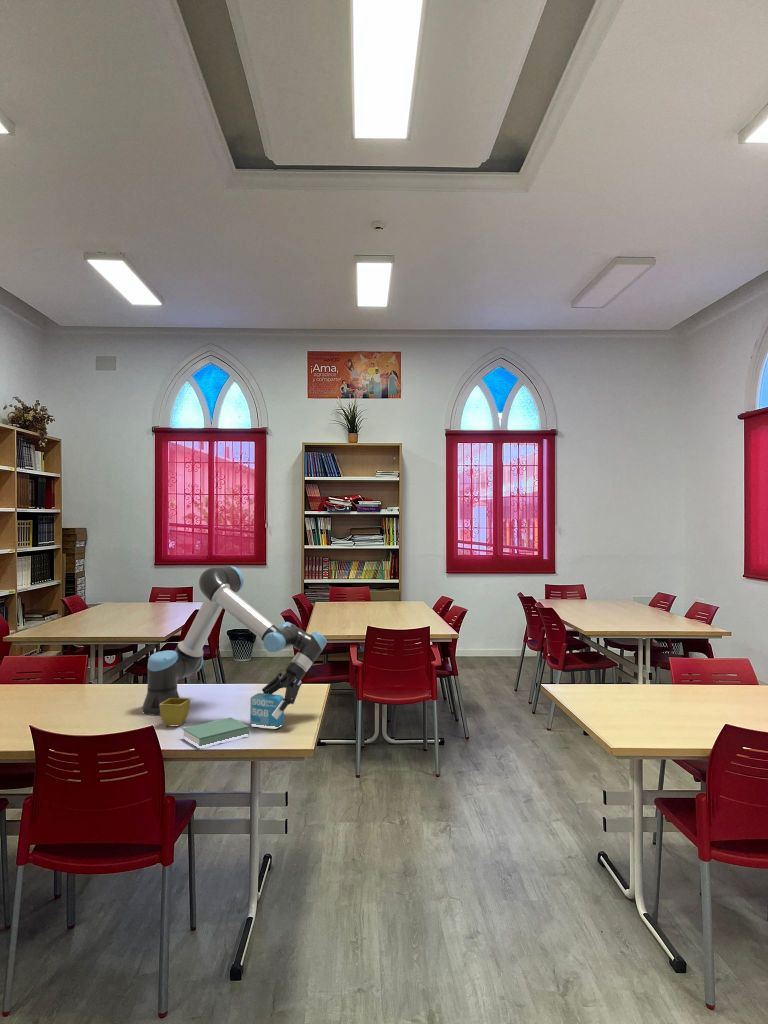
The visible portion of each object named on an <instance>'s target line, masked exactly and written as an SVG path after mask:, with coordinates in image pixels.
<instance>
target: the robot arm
mask: <svg viewBox="0 0 768 1024" xmlns="http://www.w3.org/2000/svg"><path fill="white" fill-rule="evenodd" d="M243 586H244V576H243V573H242V571H241V570H240V569H239V568H237V567H235V566H233V565H225V566H216V567H215V566H214V567H209V568H207V569H205V570H204V571H203V572H202V573H201V574H200V576H199V579H198V587H199V590H200V592H201V593H202V595H203V596H205V597H204V600H203V602H202V603H201V606H200V608H199V610H198V611H197V614H196V616H195V617H194V619H193V621H192V624H191V626H190V628H189V630H188V631H187V632H186V633H187V634H186V636H185V638H184V640H181V641H180V642H178V644H177V645H176V648H175V649H174V650H169V649H167V650H162V651H157V652H155V653H152V654H151V655H150V656H149V657H148V659H147V692H146V695H145V699H144V702H143V704H142V713H143V712H144V713H143V714H145V713H149V714H160V707H159V704H160V703H162V702H164V701H166V700H167V699H169V698H180V694H179V692H178V680H181V679H185V678H187V677H190V676H193V675H194V674H195V673H198V672H199V671H200V670H201V668H202V666H203V663H204V658H203V657H204V650H203V648H204V646H205V644H206V642H207V640H208V638H209V637H210V634H211V632H212V629H213V628H214V626H215V624H216V622H217V620H218V618H219V617H220V615H221V612H222V611H223V609H224V610H225V611H226V612H228V614H230V615H231V616H233V618H235V619H236V620H237V621H238V622H239V623H241V625H243V626H244V627H245V628H246V629H248V630H249V631H250V632H251V633H253V634H254V635H255V636H257V638H259V639H260V640H261V641H262V644H263V646H264V649H265V650H266V651H267V652H269V653H277V652H281V651H282V650H285V649H287V648H290V647H292V648H294V649H296V650H298V651H297V652H296V654H295V656H294V657H292V659H291V662H289V663H288V665H287V666H286V668H285V673H284V674H282V672H279V673H278V674H277V675H276V676H275V678H273V679H271V681H270V682H269V683H267V684H266V685H265V686H264V687H262V689H261V691H262V692H263V693H264V694H274V693H276V692H277V691H279V690H280V689H285V693H284V697H283V698H284V699H283V700H284V701H283V700H282V701H281V703H280V704H279V705H278V707H277V708H276V710H275V711H274V712H273V714H272V716H273V717H274V718H275V719H278V718H279V716H280V715H281V713H282V712H283V711H285V710H286V709H287V707H288V706H289V705H294V704H295V702H296V699H297V696H298V693H299V690H300V687H302V685H303V682H302V680H303V678H304V677H305V676H306V673H307V672H308V671H309V670H310V668H311V667H312V665H313V664H314V662H315V661H316V660H317V658H318V657H319V656H320V654H321V653H322V652H323V650H324V648H325V646H327V642H328V641H327V639H326V637H325V636H324V635H323V634H321V633H320V632H318V631H313V632H312V633H307V632H306V631H304V630H303V629H301V628H300V627H297V626H296V624H293V623H291V622H289V621H285V622H284V623H282V624H281V625H280V627H278V626H276V625H275V624H273V622H271V620H268V619H267V617H266V616H264V615H263V614H261V613H260V612H259V611H258V610H257V609H255V608H254V607H253V606H252V605H250V604H249V603H248V602H247V601H246V600H245V599H244V598H242V597H241V596H239V594H238V592H239V591H240V590H242V588H243ZM180 699H181V698H180ZM149 714H148V715H149Z"/></svg>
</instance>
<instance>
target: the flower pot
mask: <svg viewBox="0 0 768 1024" xmlns="http://www.w3.org/2000/svg"><path fill="white" fill-rule="evenodd" d="M190 706H191V698H169V699H167V700H166V701H164V702H162V703H160V704H159V707H160V714H161V715H160V718H161V721H162V724H164V725H165V726H166V725H180V724H181V723H183V722H184V721H186V720H187V718H188V715H189V713H190ZM184 723H185V722H184ZM184 723H183V724H184ZM181 725H182V724H181ZM181 725H180V726H181Z"/></svg>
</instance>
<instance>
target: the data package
mask: <svg viewBox="0 0 768 1024" xmlns="http://www.w3.org/2000/svg"><path fill="white" fill-rule="evenodd" d="M284 698H285V697H284V696H283V695H281V694H274V693H273V694H264V693H262V692H258V693H256V694H254V695H252V696H251V697H250V707H249V708H250V710H249V712H250V714H249V715H250V716H249V717H250V718H249V721H250V725H251V724H256V725H264V726H265V725H266V726H275V727H279V726H280V725H282V724H283V723H284V722H285V712H284V711H285V710H284V711H283V712H282V713H281V715H280V716H279V718H278V719H275V718H274V717H273V716H272V714H273V712H274V711H275V710H276V708H277V707H278V705H279V704H280V703H281V701H282V700H283V699H284ZM283 701H284V700H283ZM283 725H284V724H283Z"/></svg>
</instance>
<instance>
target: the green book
mask: <svg viewBox="0 0 768 1024" xmlns="http://www.w3.org/2000/svg"><path fill="white" fill-rule="evenodd" d="M182 731H183V737H184V736H185V737H187V738H188V739H190V740H191V741H193V742H195V743H197V744H198V745H199V746H202V745H206V744H210V743H214V742H217V741H222V740H225V739H229V738H232V737H237V736H241V735H244V734H249V735H250V726H249V725H247V724H245V723H243V722H241V721H239V720H237V719H235V718H232V717H227V718H223V719H217V720H213V721H210V722H204V723H201V724H195V725H191V726H186V727H183V728H182Z"/></svg>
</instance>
